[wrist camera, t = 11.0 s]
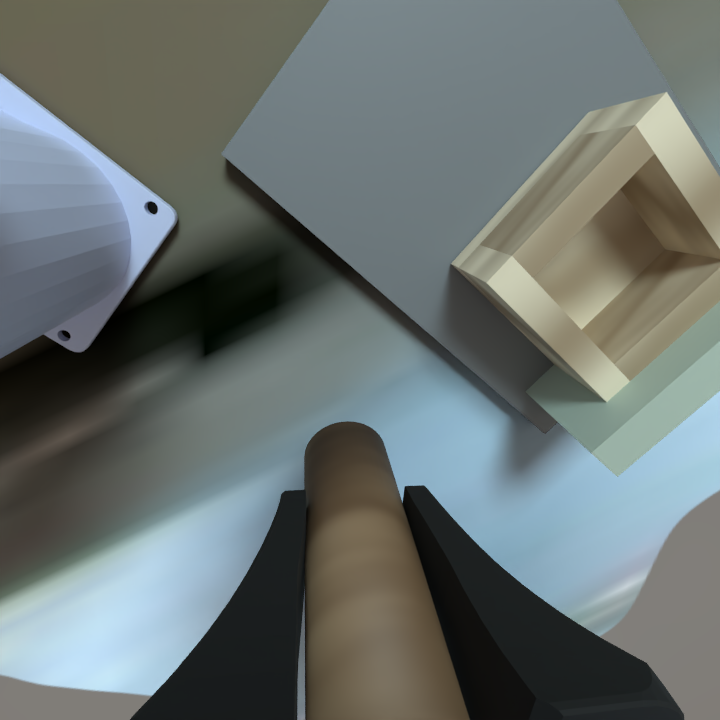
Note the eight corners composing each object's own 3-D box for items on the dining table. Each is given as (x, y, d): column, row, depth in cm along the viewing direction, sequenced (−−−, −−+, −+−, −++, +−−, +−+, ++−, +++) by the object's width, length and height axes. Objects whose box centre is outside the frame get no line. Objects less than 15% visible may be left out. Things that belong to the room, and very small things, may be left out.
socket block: (450, 263, 19) (486, 282, 15) (588, 111, 17) (666, 92, 13) (555, 365, 21) (606, 401, 18) (682, 243, 20) (769, 256, 16)
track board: (225, 155, 17) (183, 139, 11) (470, -191, 14) (594, -470, 8) (535, 424, 24) (611, 502, 18) (742, 233, 21) (913, 252, 15)
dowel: (287, 464, 15) (268, 794, 7) (340, 406, 15) (389, 696, 6) (349, 501, 16) (397, 829, 8) (401, 449, 16) (512, 746, 7)
